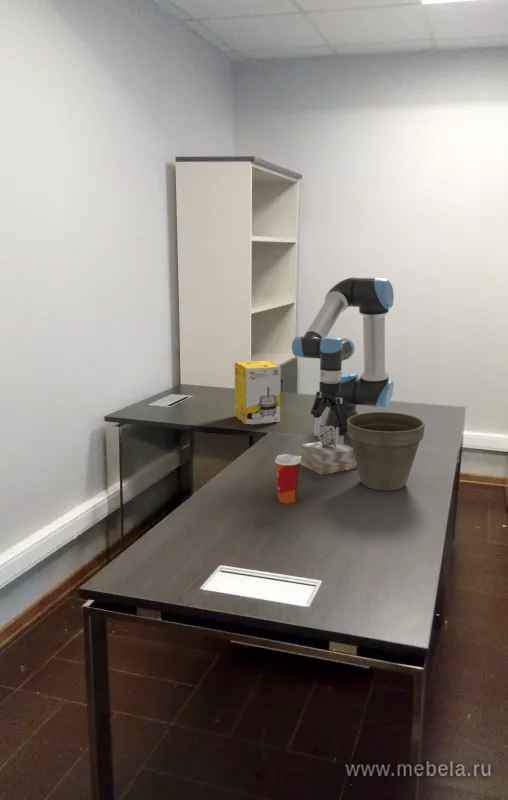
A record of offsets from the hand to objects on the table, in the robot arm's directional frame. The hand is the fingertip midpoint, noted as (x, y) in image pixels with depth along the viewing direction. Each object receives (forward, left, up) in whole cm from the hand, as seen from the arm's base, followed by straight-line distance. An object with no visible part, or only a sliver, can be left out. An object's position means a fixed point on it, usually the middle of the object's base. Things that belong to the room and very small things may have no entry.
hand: (328, 439), depth 252 cm
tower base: (0, 0, -9) cm, 9 cm away
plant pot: (-4, +26, -9) cm, 28 cm away
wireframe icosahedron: (0, 0, -3) cm, 3 cm away
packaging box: (-9, -69, -10) cm, 70 cm away
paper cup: (+32, +24, -9) cm, 41 cm away
